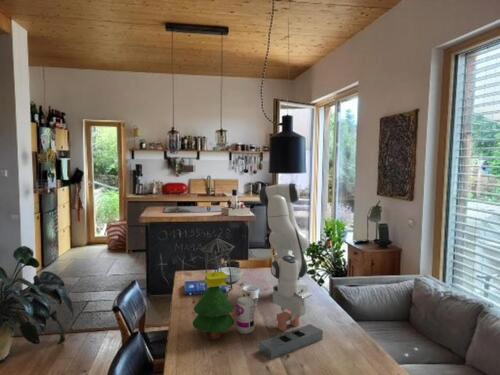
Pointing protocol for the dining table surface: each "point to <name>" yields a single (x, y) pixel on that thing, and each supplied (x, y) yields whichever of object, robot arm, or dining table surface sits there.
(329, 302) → the dining table surface
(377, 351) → the dining table surface
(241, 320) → the supplement can
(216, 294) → the decorative tree
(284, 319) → the pink notched block
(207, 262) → the geometric lantern
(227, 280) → the cereal bowl
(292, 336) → the rail
